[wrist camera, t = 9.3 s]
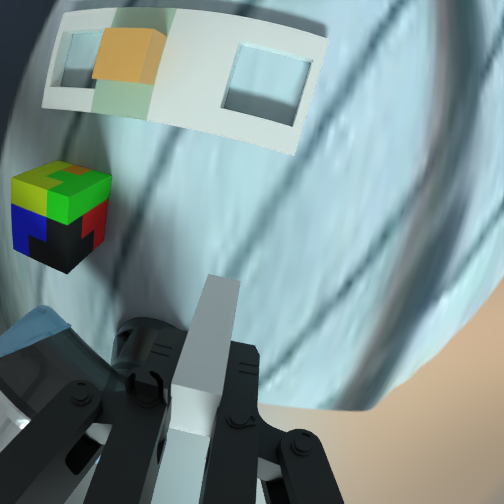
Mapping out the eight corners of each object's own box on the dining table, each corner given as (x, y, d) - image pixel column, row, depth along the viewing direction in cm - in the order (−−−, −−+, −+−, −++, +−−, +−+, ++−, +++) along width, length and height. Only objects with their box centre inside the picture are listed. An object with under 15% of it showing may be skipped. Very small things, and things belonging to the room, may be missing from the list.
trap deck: (292, 153, 34) (293, 155, 31) (52, 106, 32) (41, 108, 30) (325, 44, 27) (329, 39, 25) (74, 15, 26) (63, 12, 24)
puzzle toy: (53, 221, 40) (13, 249, 31) (57, 160, 36) (11, 177, 27) (104, 240, 41) (67, 274, 32) (112, 175, 36) (69, 197, 27)
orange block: (153, 85, 29) (138, 82, 25) (109, 80, 28) (91, 78, 25) (167, 36, 26) (153, 28, 22) (121, 34, 26) (105, 27, 22)
